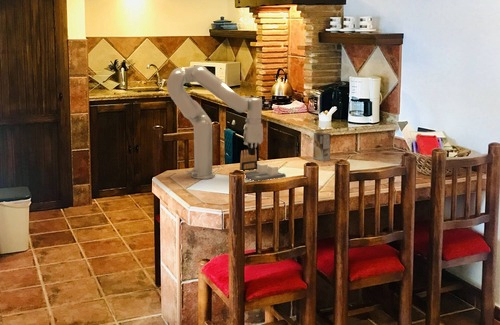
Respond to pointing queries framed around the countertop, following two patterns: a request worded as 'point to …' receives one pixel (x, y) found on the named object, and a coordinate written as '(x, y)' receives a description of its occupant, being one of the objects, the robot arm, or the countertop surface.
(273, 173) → the tab
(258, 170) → the tab
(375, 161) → the countertop surface
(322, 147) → the coffee box
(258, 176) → the switch bank
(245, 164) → the ammunition clip
